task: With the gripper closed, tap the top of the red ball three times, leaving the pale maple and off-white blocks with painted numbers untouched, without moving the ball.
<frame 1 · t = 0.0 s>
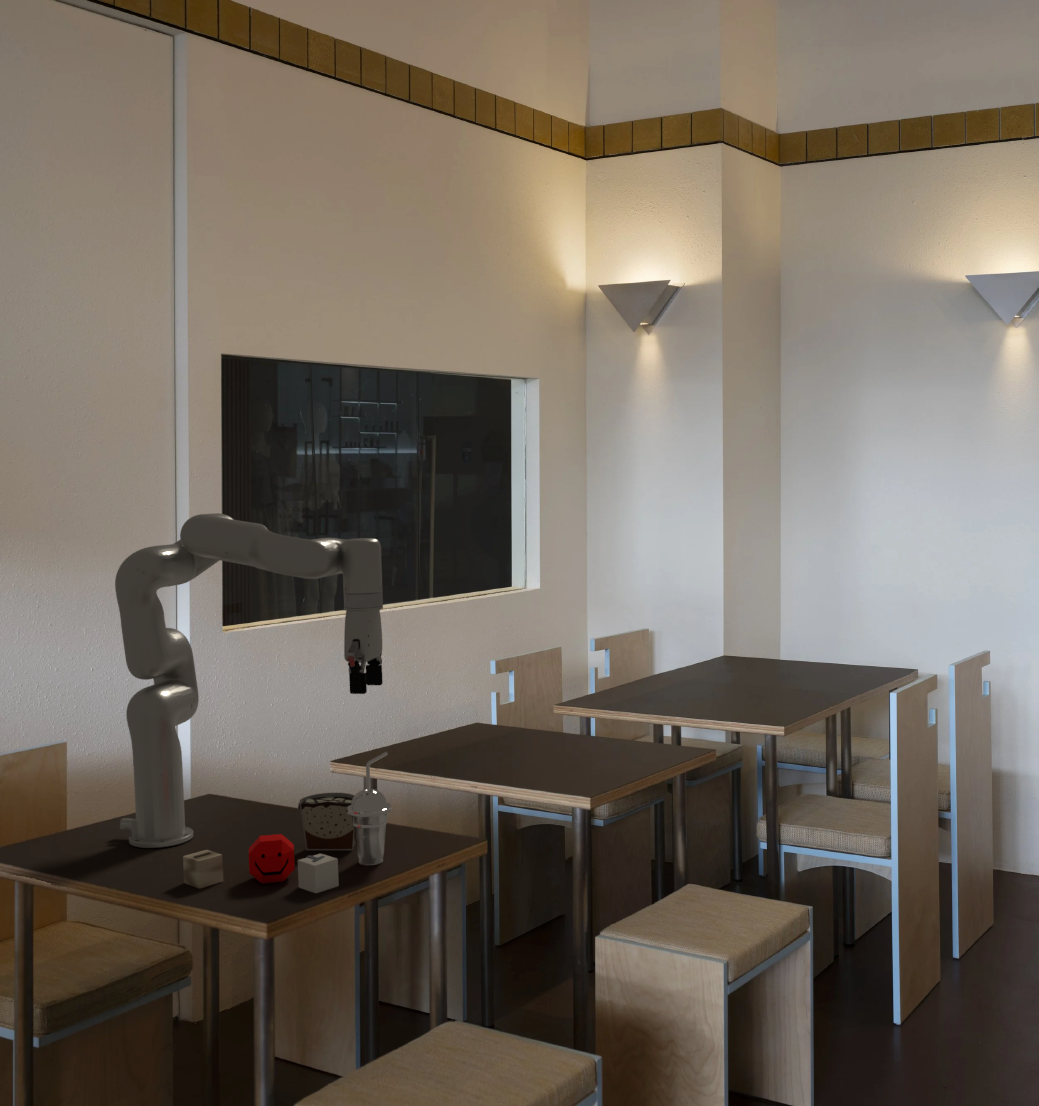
hand: (366, 689, 238), 31 cm above the table, tool pointing down, fingers open, 9 cm apart
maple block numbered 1: (203, 882, 221), on the table
ball: (272, 880, 221), on the table
cup with straw: (372, 862, 230), on the table
food container: (333, 846, 241), on the table
off-white block numbered 7: (318, 887, 216), on the table
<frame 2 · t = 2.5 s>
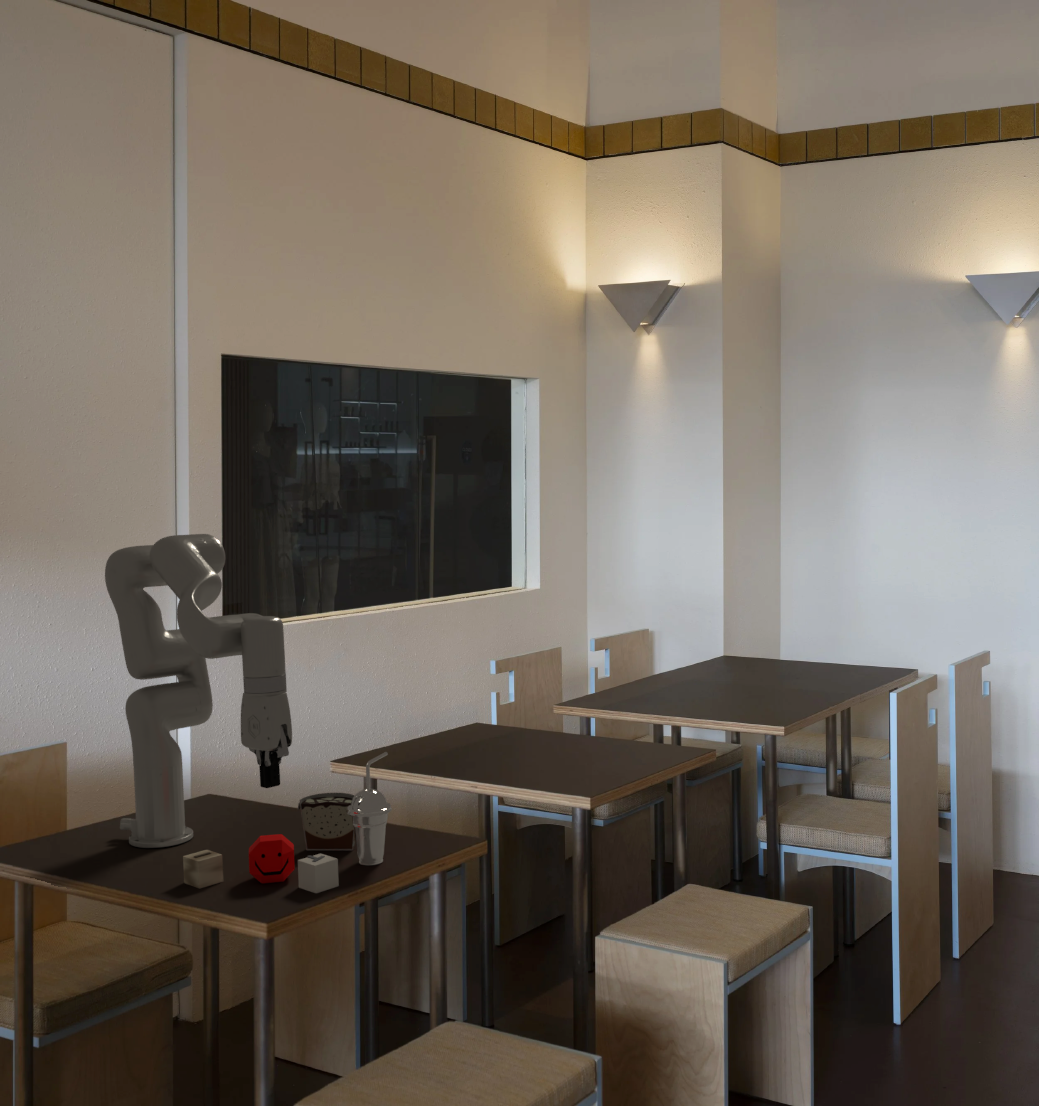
hand: (270, 786, 220), 17 cm above the table, tool pointing down, fingers closed
nothing on the table moved.
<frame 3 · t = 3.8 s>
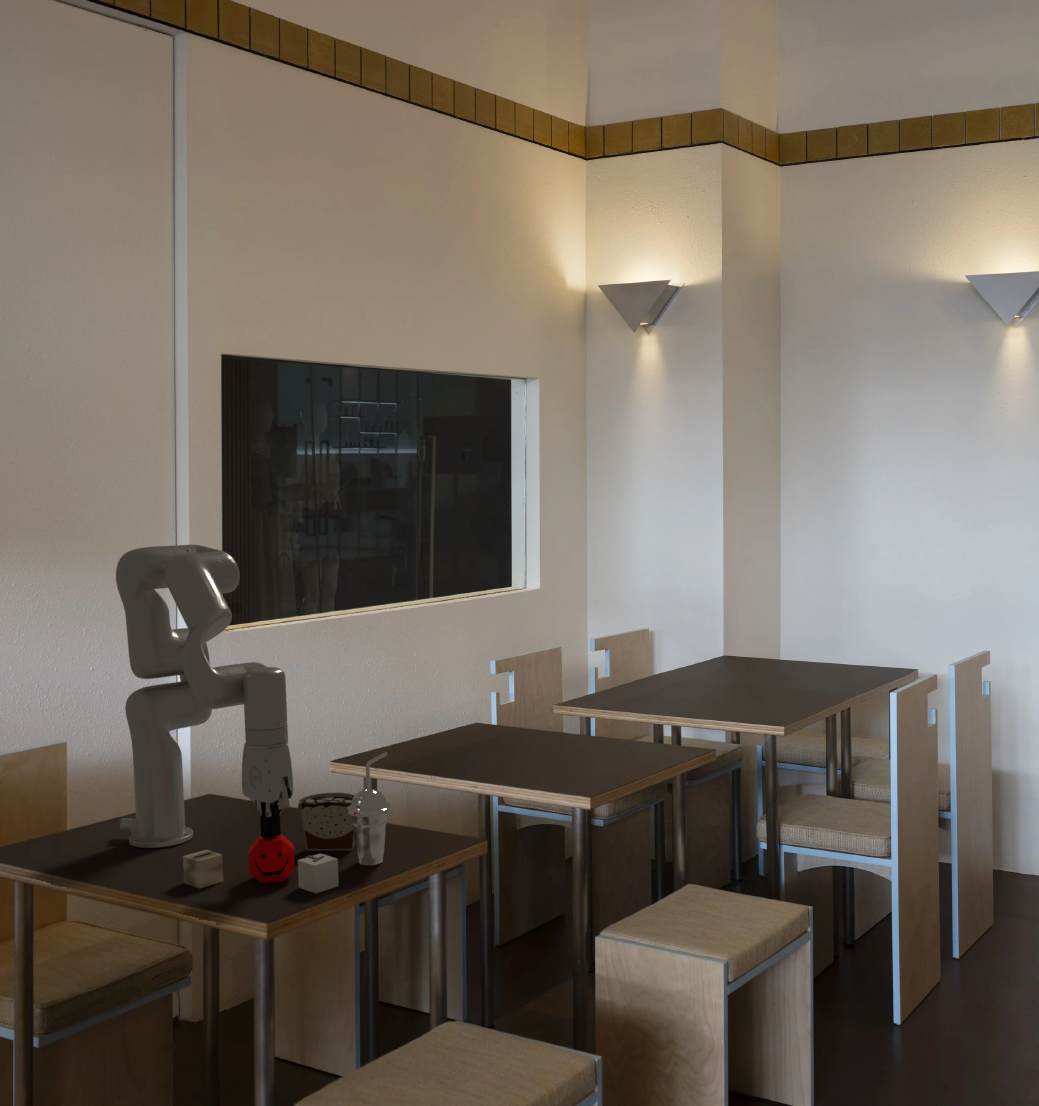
hand: (270, 836, 221), 8 cm above the table, tool pointing down, fingers closed
nothing on the table moved.
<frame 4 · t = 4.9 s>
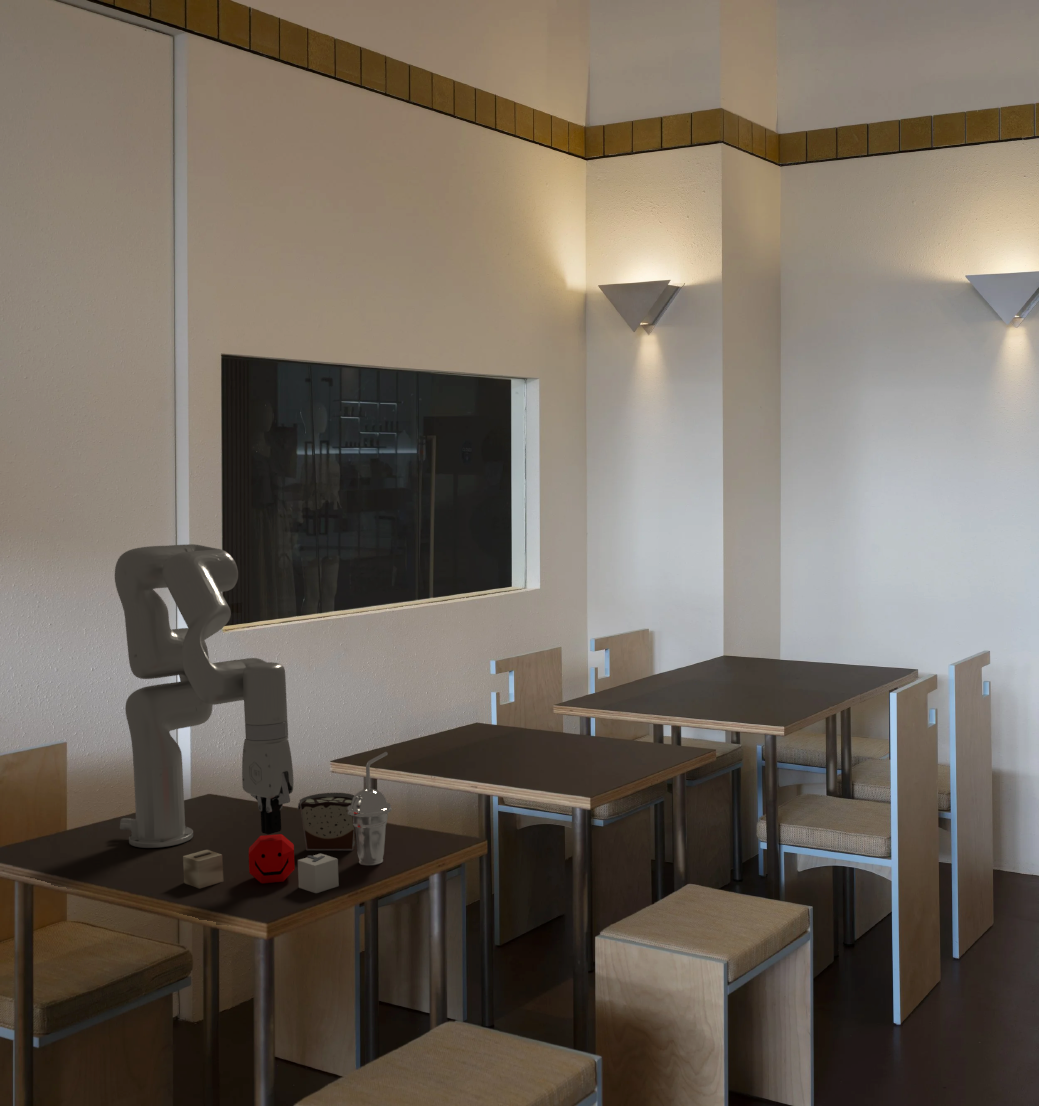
hand: (271, 831, 221), 9 cm above the table, tool pointing down, fingers closed
nothing on the table moved.
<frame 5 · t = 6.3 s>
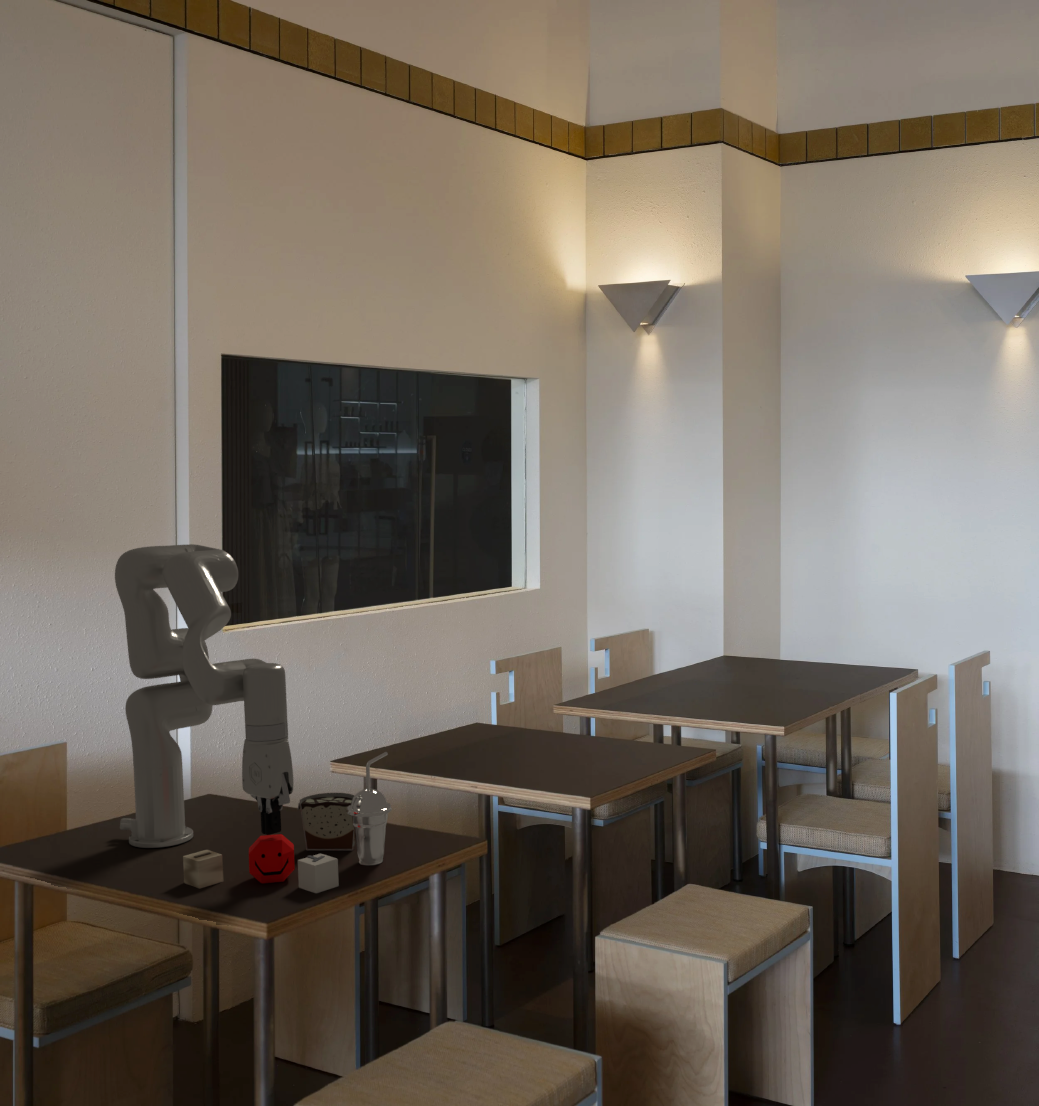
hand: (271, 832, 221), 9 cm above the table, tool pointing down, fingers closed
nothing on the table moved.
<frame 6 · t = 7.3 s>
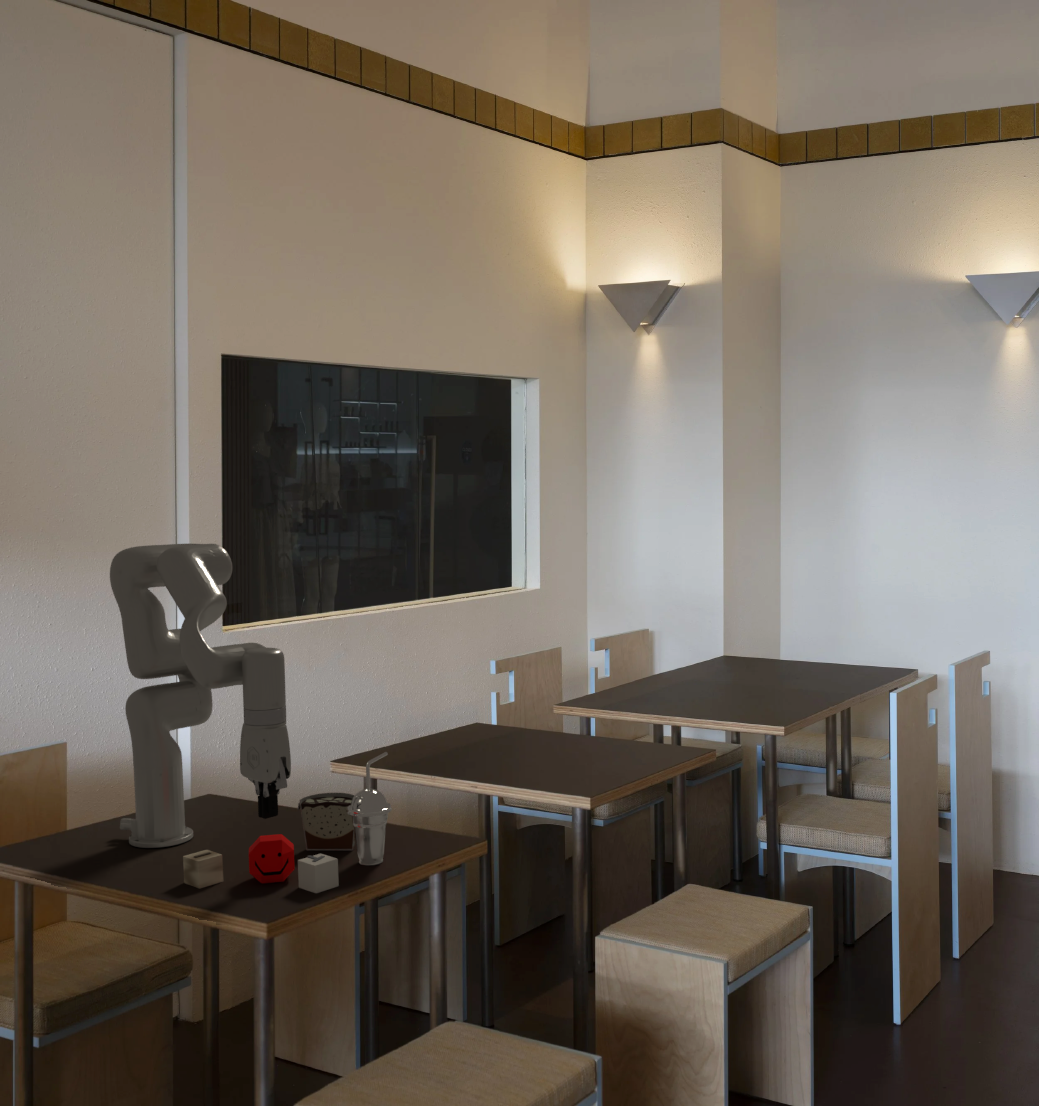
hand: (268, 816, 221), 11 cm above the table, tool pointing down, fingers closed
nothing on the table moved.
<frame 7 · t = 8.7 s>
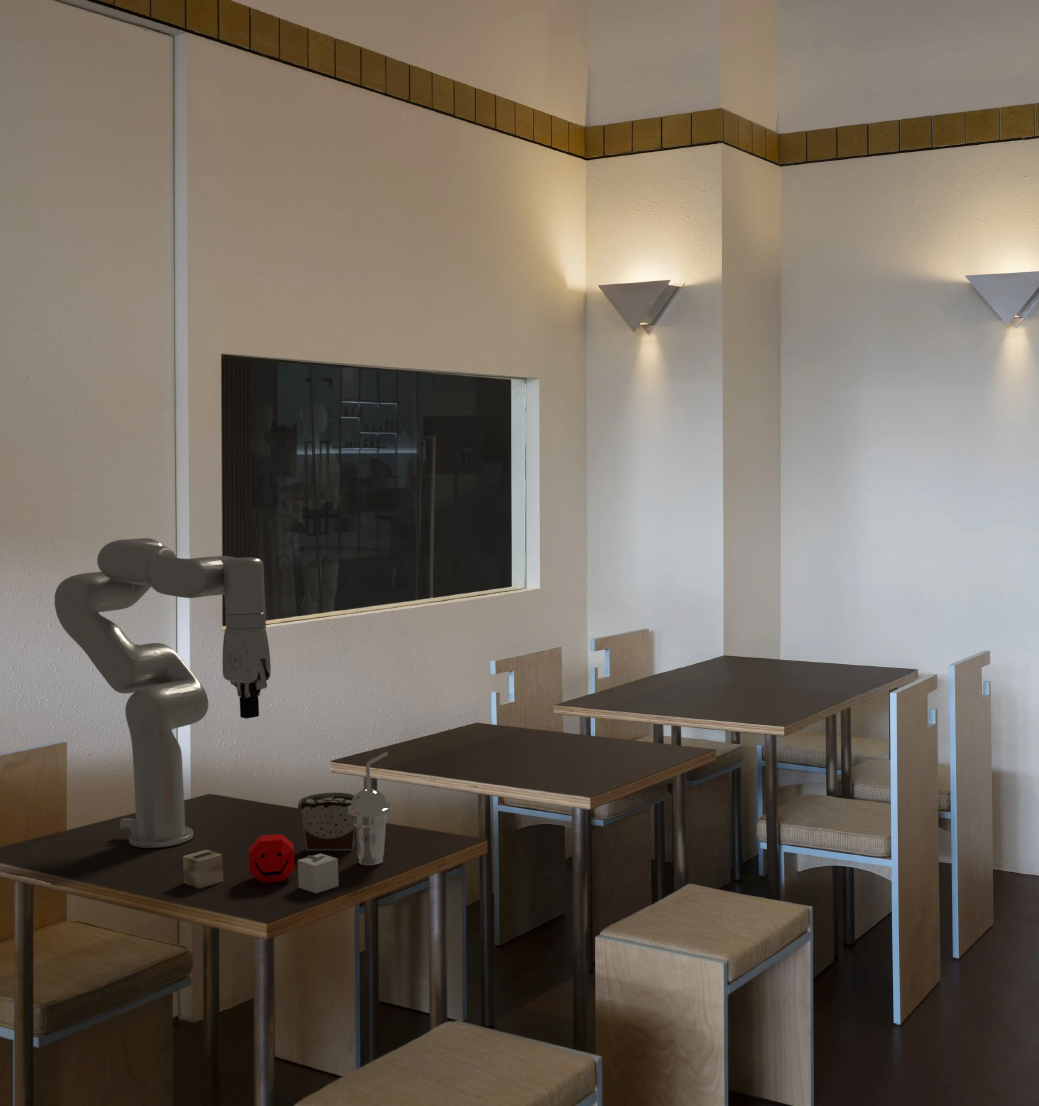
hand: (249, 716, 234), 27 cm above the table, tool pointing down, fingers closed
nothing on the table moved.
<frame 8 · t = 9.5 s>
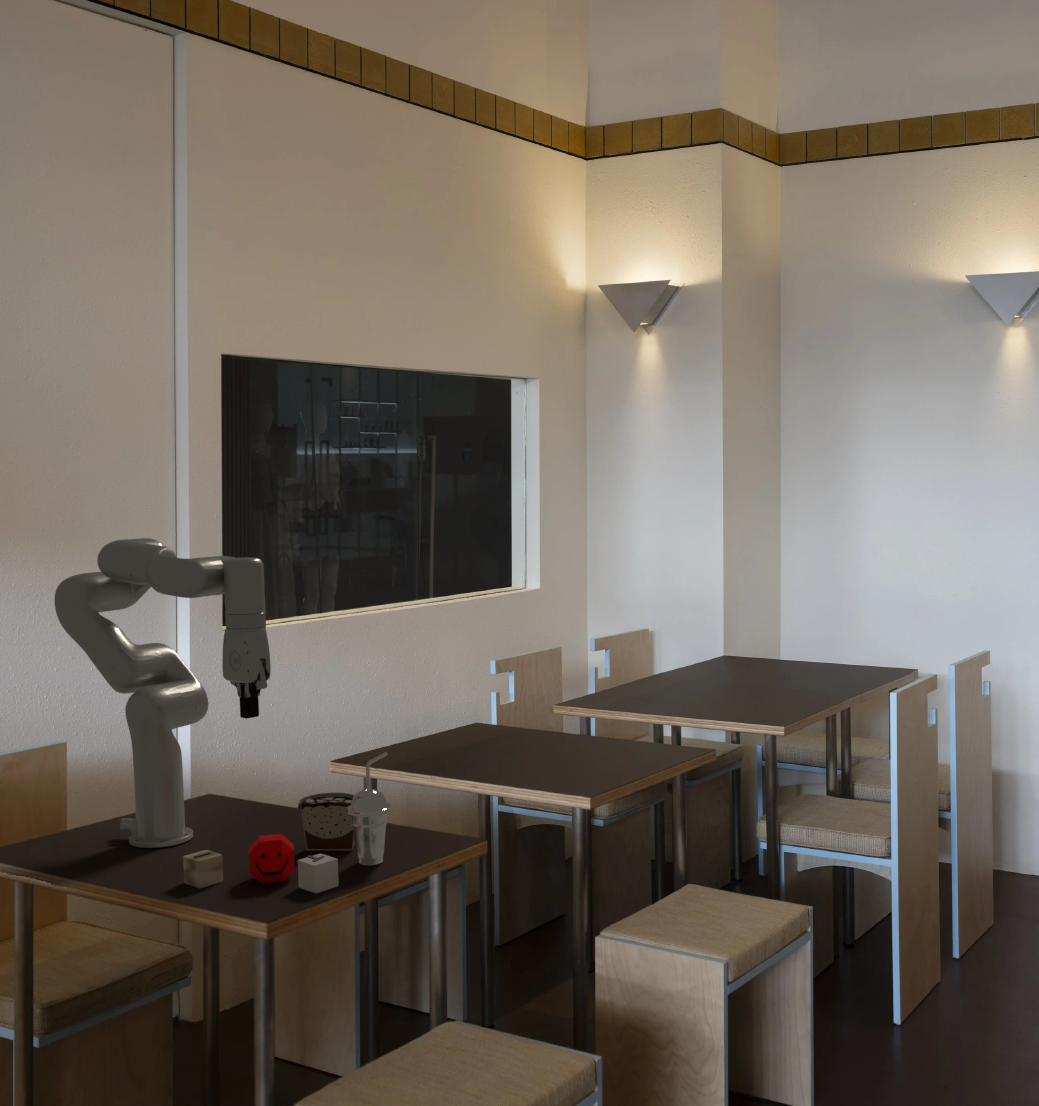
hand: (249, 716, 234), 27 cm above the table, tool pointing down, fingers closed
nothing on the table moved.
at the end: ball moved 0.2 cm from its start; ball tilted 0°; the gripper is holding nothing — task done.
